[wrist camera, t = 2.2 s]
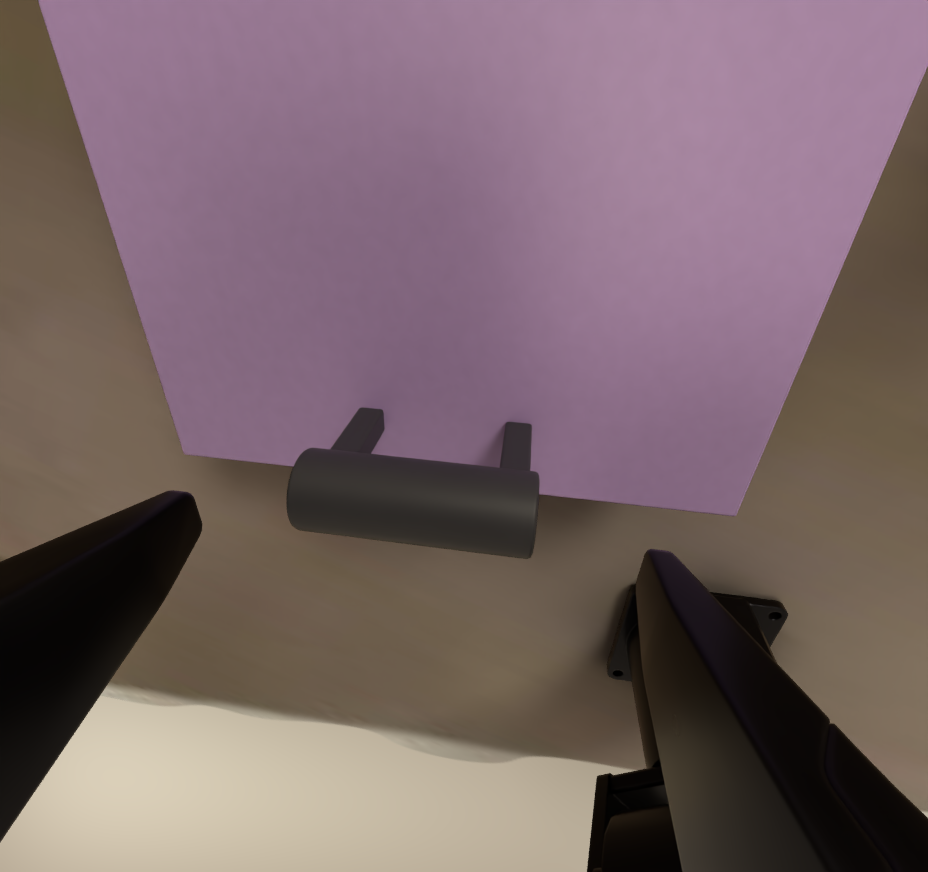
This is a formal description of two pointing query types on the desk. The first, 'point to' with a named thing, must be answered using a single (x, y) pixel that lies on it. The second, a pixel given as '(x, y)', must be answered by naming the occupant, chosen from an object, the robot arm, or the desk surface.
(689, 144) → the door panel with handle
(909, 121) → the desk surface
